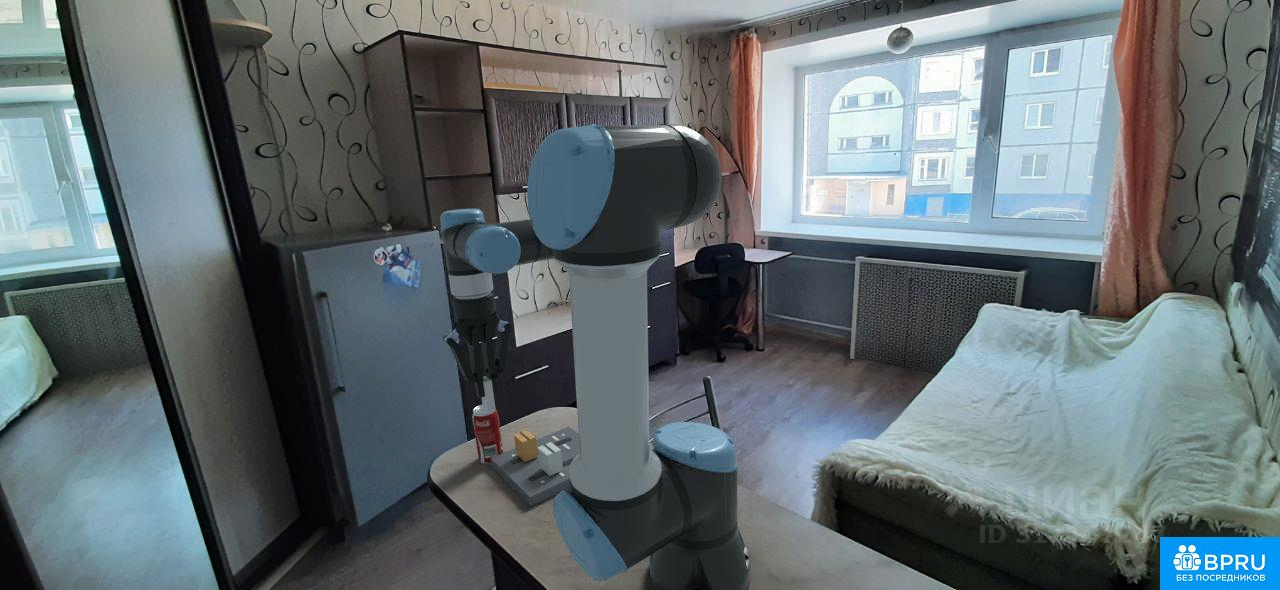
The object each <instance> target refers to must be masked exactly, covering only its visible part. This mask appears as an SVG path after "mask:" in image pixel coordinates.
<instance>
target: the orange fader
mask: <svg viewBox="0 0 1280 590" xmlns="http://www.w3.org/2000/svg"><path fill="white" fill-rule="evenodd" d="M513 439H514V440H513V441H514V445H515V447H514V448H516V454H517V455H518V456H519V457H520V458H521V459H522V460H523V461H524V462H526V461H529V460H531V459H533V458H536V457H538V451H537V443H536V440H537V437H536V436H535V435H534V434H532V432H530V431H528V430H523V431H520V432H518V433H516V434H514V435H513Z"/></svg>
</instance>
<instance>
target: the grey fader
mask: <svg viewBox="0 0 1280 590" xmlns="http://www.w3.org/2000/svg"><path fill="white" fill-rule="evenodd" d="M538 455H539V464H540V468H541V469H542V470H543V471H544V472H546V473H547V474H548V475H549V476H551V475H553V474H555V473H558V472H560V471H562V470H563V464H562V455H561V449H559V448H558V447H557V446H555V445H554V444H553V443H552V442H550V443H547V444H544V445H542V446H540V447H538Z"/></svg>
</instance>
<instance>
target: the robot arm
mask: <svg viewBox="0 0 1280 590" xmlns="http://www.w3.org/2000/svg"><path fill="white" fill-rule="evenodd" d="M722 173H723V172H722V166H721V162H720V159H719V156H718V154H717V152H716V151H715V149H714V147H713V146H712V144H711V143H710V142H709V140H707V139H706V138H705V137H704V136H703V135H702V134H700V133H698V132H697V131H695V130H693V129H691V128H690V127H687V126H684V125H679V124H676V123H671V124H670V123H658V124H627V125H626V124H625V125H624V124H622V125H621V124H619V125H618V124H616V125H614V124H613V125H611V124H610V125H601V124H600V125H599V124H590V125H589V124H588V125H582V126H576V127H575V126H573V127H572V126H571V127H565V128H560V129H557V130H555V131H553V132H552V133H550V134H549V135H547V136H546V137H545V138H544V139H543V140H542V142H541V143H540V144H539V146H538V149H537V151H536V152H535V153H534V155H533V158H532V162H531V164H530V168H529V172H528V178H527V190H526V191H527V192H526V193H527V194H526V200H527V209H528V210H527V211H528V216H529V219H520V220H513V221H506V222H504V221H503V222H499V223H497V222H496V223H490V224H489V223H488V224H487V221H486V219H485V216H484V213H483V211H482V210H481V209H480V208H459V209H452V210H447V211H444V212H442V213H441V214H440V217H439V219H440V221H439V222H440V234H441V237H442V243H443V244H442V245H443V249H444V255H445V262H446V267H447V273H448V281H449V287H450V294H451V295H452V296H453V297H452V300H451V301H452V308H453V314H454V324H453V330H452V331H451V332H450V333H449V334H448V335H444V336H443V337H442V340H443V342H444V343H445V344H446V345H447V346H448V347H449V348H450V350H451V353H452V355H453V357H454V359H455V362H456V364H457V367H458V369H459V371H460V373H461V376H462V378H463V379H464V380H466V381H467V382H468V383H471V384H472V383H473V384H474V388H475V395H476V396H477V397H479V399H481V403H482V404H481V405H483V409H484V410H485V411H486V412H488V413H491V412H494V411H496V410H497V408H496V404H495V402H496V401H495V395H494V394H496V393H498V384H497V383H498V382H497V380H498V379H499V374H503V373H504V372H505V370H506V360H507V353H508V352H507V351H508V350H507V349H508V341H509V335H510V332H511V330H512V328H513V325H512V323H510V322H508V321H506V320H501V319H500V316H499V315H498V314H497V305H496V299H495V293H494V292H493V290H494V283H493V282H494V281H493V275H492V274H496V275H497V274H504V273H507V272H509V271H510V270H512V269H513V268H514V267H516V266H521V265H522V266H523V265H528V264H532V263H536V262H542V261H543V262H544V261H547V260H554V261H555V263H557V264H558V265H559V266H560V267H562V268H563V269H564V270H565V271H566V272H567V273H568V279H569V280H568V282H569V295H570V296H569V297H570V299H569V300H570V312H571V314H570V315H571V329H572V330H571V331H572V345H573V362H574V378H575V379H574V380H575V390H576V391H575V392H576V393H575V395H576V409H577V412H576V413H577V426H578V433H579V446H580V453H579V454H578V455H577V456H576V457H575V458H574V459H573V461H572V462H571V464H570V467H569V483H570V488H569V489H567V490H565V491H564V490H563V491H561V492H560V493H558V494H556V495H555V497H554V498H553V501H552V513H553V516H554V517H553V518H554V520H555V523H556V526H557V528H558V531H559V533H560V534H559V535H560V537H561V539H562V540H563V542H564V544H565V547H566V548H567V550H568V552H569V553H570V555H571V556H572V558H573V560H574V561H575V562H576V564H577V565H578V567H579V568H580V569H581V570H582V572H584V573H585V574H586V575H587V576H588V577H590V578H591V579H593V580H595V581H598V582H601V581H602V582H603V581H608V580H610V579H612V578H614V577H616V576H618V575H620V574H622V573H626V572H627V571H628V570H629V569H631V568H632V567H634V566H636V565H637V564H638V563H641V562H642V561H644V560H645V559H647V558H649V559H648V560H649V562H648V563H649V564H648V565H649V576H650V580H651V583H652V585H653V587H654V589H655V590H747V589H748V588H749V584H750V581H751V558H750V554H749V552H748V548H747V547H746V544H745V542H744V538H743V536H742V534H741V532H740V529H739V526H738V523H739V522H738V469H739V464H738V461H737V452H736V445H735V443H734V441H733V439H732V437H731V436H729V434H727V433H726V432H724V431H723V430H722V429H720V428H717V427H716V426H713V425H710V424H706V423H701V422H694V421H679V422H678V421H677V422H671V423H667V424H664V425H662V426H660V427H659V428H658V429H657V430H655V432H654V435H653V439H652V440H651V443H652V444H651V446H653V448H652V449H651V448H650V409H649V408H650V406H649V405H650V404H649V403H650V401H649V399H650V398H649V395H650V394H649V337H648V336H649V331H648V330H649V328H648V326H649V325H648V323H649V321H648V317H649V316H648V270H649V269H650V267H651V266H652V265H653V264H654V263H655V262H657V260H658V259H659V258H660V257H661V232H663V231H668V230H673V229H677V228H682V227H685V226H687V225H690V224H691V225H692V224H693V223H695V222H696V221H698V220H700V219H702V217H704V216H705V215H707V213H708V212H710V210H711V209H712V207H713V206H714V204H715V203H716V202H717V199H718V197H719V194H720V191H721V187H722V182H723V181H722V180H723V174H722ZM496 330H497V333H496V340H495V341H496V342H495V343H496V344H495V351H494V347H493V345H494V341H493V336H494V334H495V332H496ZM459 336H460V337H461V338H462V339H463V340H464V341H465V342H466V345H467V348H468V354H469V360H470V361H469V362H470V366H469V363H468V361H467V358H466V356H465V355H464V352H463V350H462V348H461V346H460V345H459V343H460V338H459ZM480 345H481V346H480ZM480 348H481V349H480ZM480 350H481V352H482V357H481V352H480ZM494 352H495V353H494ZM482 359H483V363H484V364H482ZM482 365H484V370H483V366H482ZM470 367H471V369H470ZM483 371H485V374H486V376H484V372H483Z"/></svg>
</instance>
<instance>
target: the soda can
mask: <svg viewBox="0 0 1280 590" xmlns="http://www.w3.org/2000/svg"><path fill="white" fill-rule="evenodd" d="M472 412H473V413H472V417H471V418H472V425H473V431H474V437H475V443H476V450H477V455H478V456H477V457H478V461H479V463H480V464H482V465H484V466H489V465H490V466H492V464H491V458H492V457H495V456H497V455H500V454H502V453H504V448H503V440H502V433H501V427H500V419H499V411H498V410H497V409H496V411H494V412H491V413H488V412H486V411H485V410H484V409H483V404H480V405H477V406H476V407H474V408H473V409H472Z"/></svg>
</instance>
